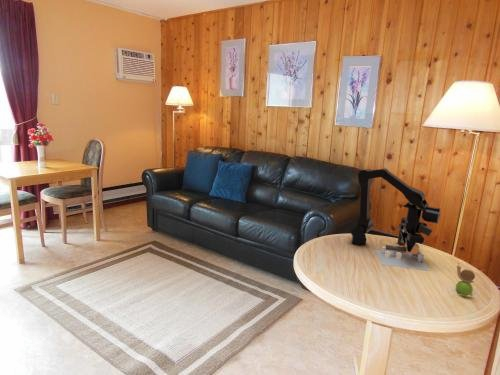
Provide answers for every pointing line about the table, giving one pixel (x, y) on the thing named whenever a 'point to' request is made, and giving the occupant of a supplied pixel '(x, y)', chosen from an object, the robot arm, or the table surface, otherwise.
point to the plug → (403, 248)
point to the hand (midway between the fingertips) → (407, 249)
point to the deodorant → (400, 240)
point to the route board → (401, 261)
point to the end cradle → (419, 256)
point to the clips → (398, 254)
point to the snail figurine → (465, 281)
